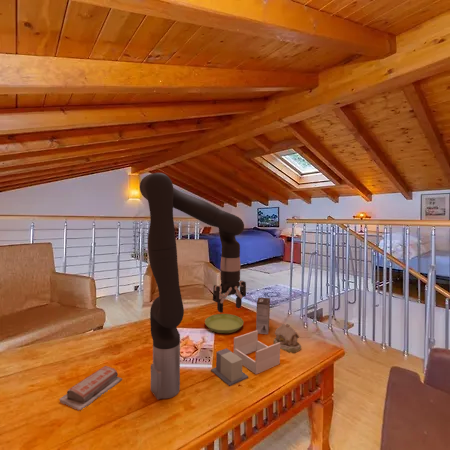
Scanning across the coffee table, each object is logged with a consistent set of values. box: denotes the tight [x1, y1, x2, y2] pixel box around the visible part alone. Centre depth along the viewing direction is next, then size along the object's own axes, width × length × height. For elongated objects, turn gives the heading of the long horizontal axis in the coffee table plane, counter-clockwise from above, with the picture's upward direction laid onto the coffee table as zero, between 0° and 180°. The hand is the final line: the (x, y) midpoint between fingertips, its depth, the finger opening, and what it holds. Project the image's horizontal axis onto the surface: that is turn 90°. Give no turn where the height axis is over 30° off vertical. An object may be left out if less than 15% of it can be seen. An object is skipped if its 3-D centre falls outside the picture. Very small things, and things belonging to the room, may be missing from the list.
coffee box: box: [255, 297, 271, 335], centre depth 151 cm, size 9×6×16 cm
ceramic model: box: [273, 323, 302, 354], centre depth 136 cm, size 14×11×10 cm
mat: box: [210, 366, 249, 387], centre depth 112 cm, size 9×12×1 cm
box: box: [215, 347, 243, 382], centre depth 112 cm, size 5×10×7 cm, turn 36°
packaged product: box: [59, 365, 123, 411], centre depth 101 cm, size 18×5×10 cm
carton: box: [233, 329, 281, 375], centre depth 121 cm, size 13×14×9 cm
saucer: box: [204, 313, 244, 334], centre depth 155 cm, size 21×21×3 cm
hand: (229, 309), depth 112 cm, fingers open, 8 cm apart
